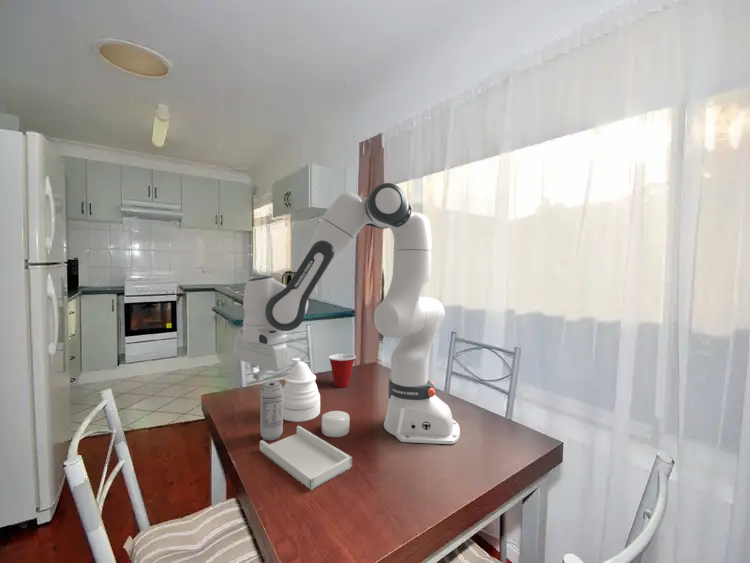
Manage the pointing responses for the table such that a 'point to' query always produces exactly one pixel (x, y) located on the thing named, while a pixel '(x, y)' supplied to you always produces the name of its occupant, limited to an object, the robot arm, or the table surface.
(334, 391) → the table surface
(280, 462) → the tray
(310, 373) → the honey pot
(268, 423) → the energy drink can
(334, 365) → the plastic cup
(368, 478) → the table surface
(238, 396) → the table surface
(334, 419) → the white rounded puck
